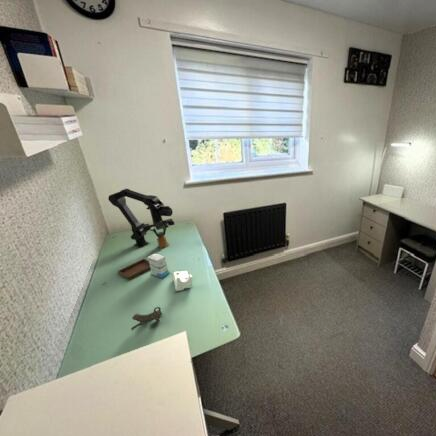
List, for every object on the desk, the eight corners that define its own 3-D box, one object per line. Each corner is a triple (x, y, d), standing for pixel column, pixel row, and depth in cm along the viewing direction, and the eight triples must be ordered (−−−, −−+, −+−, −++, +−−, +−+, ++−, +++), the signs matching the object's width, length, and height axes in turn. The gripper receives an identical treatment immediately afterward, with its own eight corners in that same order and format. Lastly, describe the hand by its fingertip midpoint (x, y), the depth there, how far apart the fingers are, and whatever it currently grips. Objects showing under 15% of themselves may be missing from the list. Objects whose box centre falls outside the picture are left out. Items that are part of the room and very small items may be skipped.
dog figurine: (163, 314, 109) (160, 302, 106) (163, 323, 105) (159, 311, 102) (133, 322, 105) (129, 310, 102) (131, 332, 100) (127, 319, 97)
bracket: (190, 289, 127) (192, 277, 125) (176, 290, 123) (177, 278, 121) (186, 276, 137) (187, 264, 135) (172, 277, 133) (174, 265, 131)
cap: (159, 238, 160) (158, 235, 159) (156, 236, 162) (156, 233, 161) (165, 236, 163) (164, 233, 162) (162, 234, 165) (162, 231, 164)
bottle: (157, 246, 165) (154, 234, 161) (164, 243, 169) (162, 231, 166) (162, 248, 162) (159, 237, 159) (169, 245, 167) (166, 233, 163)
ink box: (169, 273, 138) (165, 256, 133) (161, 278, 133) (157, 260, 129) (159, 269, 141) (154, 252, 136) (151, 274, 137) (146, 257, 132)
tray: (118, 273, 137) (117, 270, 136) (144, 261, 149) (144, 258, 148) (129, 280, 131) (128, 277, 131) (155, 266, 143) (154, 263, 143)
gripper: (141, 222, 145) (147, 244, 152) (174, 215, 156) (178, 236, 162) (139, 216, 153) (145, 237, 160) (170, 210, 164) (174, 230, 170)
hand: (161, 235), depth 163 cm, fingers closed on cap, 4 cm apart
